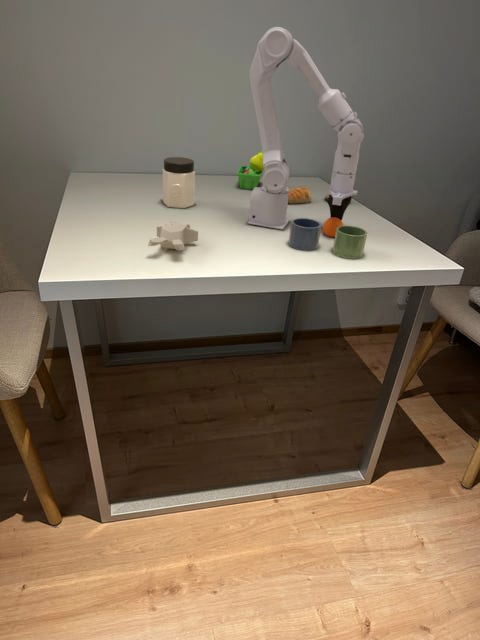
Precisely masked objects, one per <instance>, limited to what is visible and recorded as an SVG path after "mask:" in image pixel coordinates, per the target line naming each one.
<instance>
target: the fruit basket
mask: <svg viewBox="0 0 480 640" xmlns="http://www.w3.org/2000/svg"><path fill="white" fill-rule="evenodd" d="M249 163H250V164H248V165H241V166H240V167H239V169H238V171H237V172H236V173H237V177H238V182H239V188H240V189H245V190H253V189H254V188H255V187H258V186H259V183H260V180H261V179H262V176H263V173H264V166H263V150H262V151H259V152H258V153H257V154H256V155H254V156H252V157H250V159H249Z"/></svg>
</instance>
